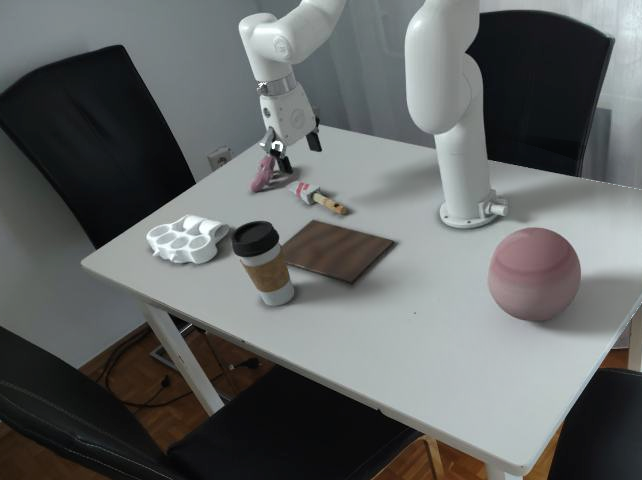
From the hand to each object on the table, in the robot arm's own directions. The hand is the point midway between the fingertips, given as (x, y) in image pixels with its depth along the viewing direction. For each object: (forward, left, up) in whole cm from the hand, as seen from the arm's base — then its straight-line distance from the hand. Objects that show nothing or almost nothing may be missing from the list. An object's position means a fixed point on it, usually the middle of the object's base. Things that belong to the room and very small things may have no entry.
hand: (302, 161), depth 138 cm
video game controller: (+19, -3, -10) cm, 21 cm away
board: (-16, +14, -10) cm, 24 cm away
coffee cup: (-16, +29, -10) cm, 35 cm away
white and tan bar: (0, 0, -10) cm, 10 cm away
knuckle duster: (+17, +24, -10) cm, 31 cm away
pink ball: (-62, +14, -10) cm, 65 cm away
